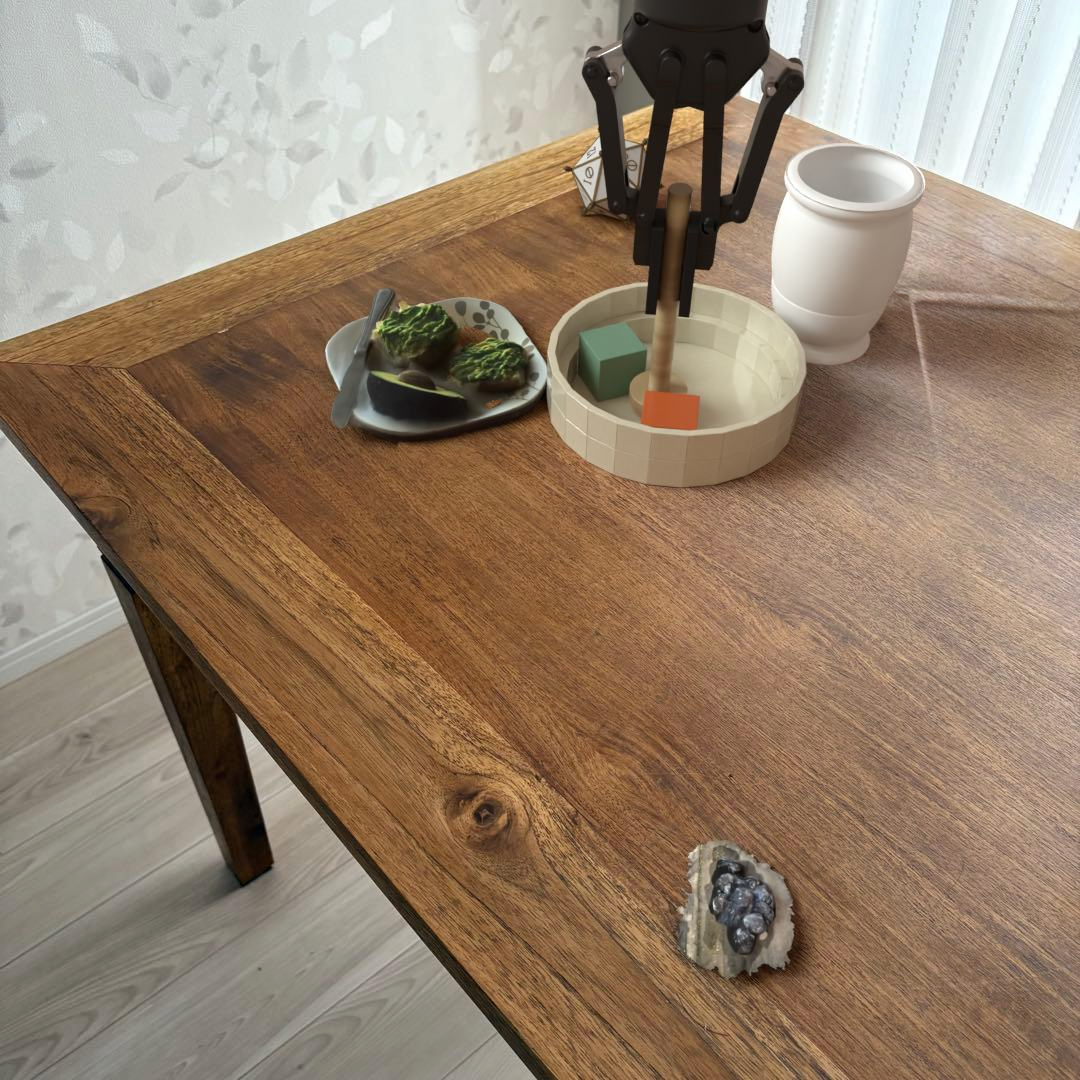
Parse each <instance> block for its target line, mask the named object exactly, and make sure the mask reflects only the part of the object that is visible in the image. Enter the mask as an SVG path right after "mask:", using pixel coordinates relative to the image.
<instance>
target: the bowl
mask: <svg viewBox="0 0 1080 1080" xmlns="http://www.w3.org/2000/svg"><path fill="white" fill-rule="evenodd" d="M647 286H648V281H643V282H633V283H629V284H625V285H620V286H615V287H610V288H607V289H605V290H603V291H601V292H597V293H596V294H594V295H591V296H589V297H586V298H584V299H583V300H581V301H579V302H578V303H577V304H576V305H574V306H573V307H572V308H570V309H569V310H568V311H566V312H565V313H563V315H562V317H561V318H560V319H559V321H558V322H557V324H556V325H555V326H554V328H553V329H552V331H551V333H550V337H549V342H548V347H547V351H546V352H547V356H546V357H547V359H546V364H547V387H546V406H547V410H548V414H549V419H550V423H551V425H552V427H553V428H554V429H555V431H556V432H557V434H558V435H559V437H560V438H561V440H562V442H563V443H564V444H565V445H566V446H568V447H569V448H570V449H571V450H572V451H573V452H574V453H576V454H577V455H578V456H579V457H580V458H582V459H583V460H584V461H586V462H587V463H589V464H591V465H593V466H595V467H597V468H599V469H601V470H603V471H605V472H607V473H609V474H611V475H612V476H613V475H614V476H615V477H619V478H623V479H626V480H629V481H634V482H636V483H641V484H644V485H649V486H658V487H659V486H661V487H670V488H671V487H672V488H691V487H692V488H693V487H704V486H715V485H718V484H722V483H726V482H729V481H732V480H736V479H739V478H743V477H746V476H748V475H750V474H753V473H754V472H756V471H758V470H759V469H761V468H763V467H764V466H766V465H767V464H769V463H771V462H772V461H773V460H775V458H776V457H777V456H778V455H779V454H780V453H781V452H782V451H783V450H784V448H786V446H787V445H788V444H789V443H790V439H791V437H792V434H793V431H794V429H795V427H796V423H797V419H798V414H799V411H800V410H799V409H800V406H801V400H802V397H803V392H804V387H805V382H806V378H807V375H808V373H807V362H806V354H805V351H804V349H803V347H802V345H801V343H800V341H799V339H798V337H797V335H796V333H795V332H794V331H793V330H792V329H791V328H790V327H789V326H788V325H787V324H786V323H785V322H784V321H783V320H782V319H781V318H780V317H779V316H778V315H777V314H775V311H772V310H771V309H769V308H767V307H766V306H764V305H763V304H761V303H759V302H758V301H756V300H754V299H752V298H749V297H747V296H744V295H741V294H739V293H737V292H734V291H731V290H729V289H725V288H720V287H716V286H712V285H708V284H702V283H700V282H699V283H698V282H694V283H693V291H692V299H691V308H690V316H689V318H686V317H678V321H677V329H676V338H675V346H674V355H673V363H672V373H674V374H676V375H678V376H679V377H681V378H682V379H683V380H684V382H685V383H686V385H687V388H688V395H696V396H700V403H699V413H698V424H697V430H677V429H666V428H654V427H650V426H647V425H643V424H641V419H640V418H639V417H637V416H636V415H635V414H634V413H633V412H632V411H631V409H630V407H629V394H628V395H625V396H621V397H617V398H613V399H609V400H605V401H601V402H597V400H596V399H595V397H594V396H593V395H592V393H591V392H590V390H589V389H588V387H587V386H586V385H585V383H584V382H583V380H582V379H581V378H580V376H579V375H578V352H579V333H580V332H584V331H588V330H592V329H596V328H601V327H605V326H609V325H613V324H618V323H622V322H626V323H627V324H628V326H629V327H630V328H631V329H632V331H633V332H634V333H635V334H636V336H637V337H638V338H639V340H640V341H641V342H642V343H643V345H644V346H645V347H646V348H647V359H646V370H645V371H649V370H650V364H651V354H652V344H653V334H654V324H655V315H649V314H645V309H646V297H647ZM678 314H679V312H678Z"/></svg>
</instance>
